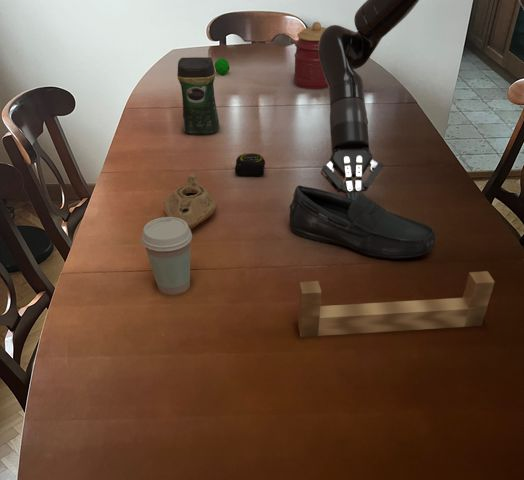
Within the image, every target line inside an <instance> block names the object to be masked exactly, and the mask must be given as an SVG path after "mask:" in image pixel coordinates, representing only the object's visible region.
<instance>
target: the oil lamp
mask: <svg viewBox="0 0 524 480" xmlns="http://www.w3.org/2000/svg"><path fill="white" fill-rule="evenodd" d="M163 209H164V212H165V215H166V217H176V218H180V219H182V220H184V221H185V222H186V223H187V225H188V227H189V228H190V230H192V229H194V228H195V227H196V226H197V225H199V224H202V223H203V222H205V221H206V220H207V219H208V218H210V217H211V216H212V215H213V214H214V212H215V211H216V209H217V198H216V196H215V194H213V193H212V192H211V191H210V190H208V189H207V188H205V186H202V184H201V182H200V179H199V177H198V175H197V174H196V173H190V174H188V175H187V183H186V184H183V185H180V186H179V187H177V188H176V189H175V190H174V191H172V192H171V194H169V195H168V196H167V197H166V198H165V200H164V202H163Z"/></svg>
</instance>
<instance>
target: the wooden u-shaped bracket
mask: <svg viewBox="0 0 524 480" xmlns="http://www.w3.org/2000/svg"><path fill="white" fill-rule="evenodd" d="M467 276H468V277H467V280H466V284H465V287H464V291H463V295H462V297H453V298H452V297H451V298H438V299H437V298H436V299H435V298H433V299H419V300H418V299H417V300H402V301H399V300H398V301H384V302H368V303H366V302H365V303H350V304H335V305H332V304H331V305H321V304H322V288H321V286H320V281H319V280H310V281H300V282H299V286H298V287H299V288H298V290H299V291H298V320H297V327H298V332H299V337H301V338H305V337H320V336H336V335H337V336H339V335H352V334H353V335H354V334H355V335H356V334H370V333H371V334H372V333H386V332H388V333H389V332H402V331H419V330H420V331H421V330H436V329H437V330H438V329H449V328H450V329H451V328H467V327H481V326H482V325H483V322H484V319H485V316H486V313H487V309H488V306H489V302H490V299H491V296H492V292H493V289H494V285H495V280H494V278H493V277H492V276H491V274H490V272H489V271H488V270H487V271H486V270H484V271H469V272H468V275H467Z"/></svg>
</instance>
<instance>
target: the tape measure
mask: <svg viewBox="0 0 524 480" xmlns="http://www.w3.org/2000/svg"><path fill="white" fill-rule="evenodd" d="M265 166H266V160H265V159H264V157H263V155H262V154H260V153H254V152H251V153H250V152H249V153H247V152H246V153H243V154H240V155H238V157H237V158H236V160H235V166H234V171H235V174H236V175H237V176H245V177H246V176H247V177H248V176H249V177H254V176H255V177H256V176H257V177H262V176H264V174H265Z"/></svg>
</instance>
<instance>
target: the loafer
mask: <svg viewBox="0 0 524 480" xmlns="http://www.w3.org/2000/svg"><path fill="white" fill-rule="evenodd" d="M289 227H290V229H291V231H292V233H293V234H294V235H296V236H297V237H300V238H304V239H306V240H309V241H313V242H319V243H322V244H335V245H340V246H345V247H347V248H350V249H352V250H354V251H358V252H359V254H362V255H364V256H367V257H373V258H375V259H379V260H388V259H390V260H406V259H410V258H412V259H413V258H418V257H422V256H425V255H428V253H430V252H431V251H432V250H433V249H434V246H435V241H436V234H435V231H434V229H433V228H432V227H430V226H429V225H427V224H424V223H421V222H418V221H416V220H413V219H410V218H408V217H404V216H402V215H399V214H397V213H394V212H391V211H388V210H386V208H384V207H383V206H382V205H380V204H378V203H377V202H375V201H374V200H372V199H370V198H369V197H368V196H366V195H365V194H364V193H363V192H360V193H359V194H358V195H357V196H356V198H355V199H354V200H353V199H350V198H347V197H346V196H343V195H340V194H337V193H334V192H331V191H327V190H323V189H319V188H315V187H309V186H303V185H297V186H296V187H295V188H294V193H293V198H292V201H291V203H290V205H289Z"/></svg>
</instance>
